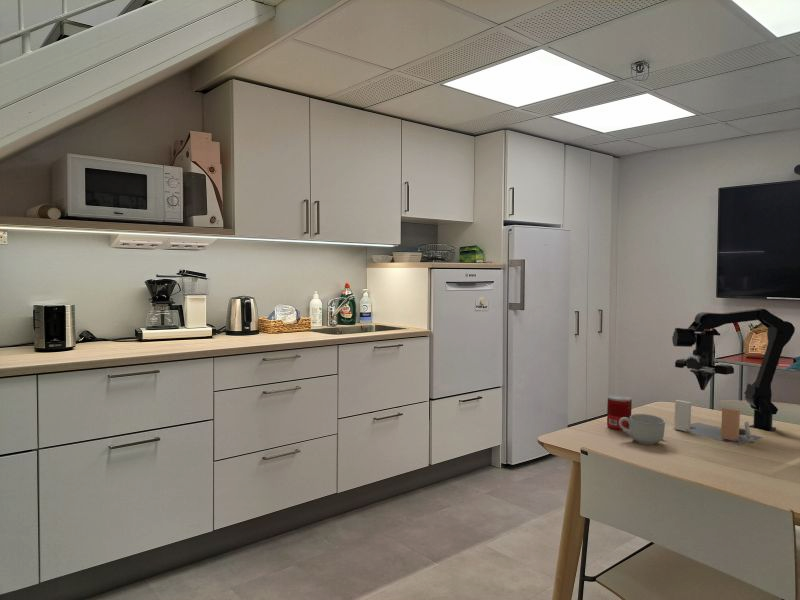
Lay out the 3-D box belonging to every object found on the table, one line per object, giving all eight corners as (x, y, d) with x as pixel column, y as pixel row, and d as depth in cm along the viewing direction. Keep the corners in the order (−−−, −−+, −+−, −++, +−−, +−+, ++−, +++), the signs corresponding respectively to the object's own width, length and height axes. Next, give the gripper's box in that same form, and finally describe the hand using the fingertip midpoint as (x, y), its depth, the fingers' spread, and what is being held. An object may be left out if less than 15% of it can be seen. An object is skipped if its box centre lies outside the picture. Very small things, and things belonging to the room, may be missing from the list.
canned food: (632, 431, 197) (633, 400, 196) (608, 429, 199) (609, 398, 198) (628, 425, 204) (629, 395, 204) (605, 424, 206) (606, 394, 206)
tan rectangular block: (724, 436, 188) (725, 407, 187) (740, 439, 184) (741, 410, 183) (719, 437, 186) (720, 408, 186) (735, 441, 182) (736, 411, 181)
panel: (697, 425, 206) (697, 405, 206) (763, 440, 188) (764, 418, 187) (672, 431, 197) (673, 410, 197) (739, 448, 179) (740, 425, 179)
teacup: (664, 439, 187) (665, 416, 187) (664, 449, 178) (665, 423, 177) (619, 434, 193) (620, 411, 193) (617, 442, 183) (618, 418, 183)
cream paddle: (677, 426, 198) (678, 399, 198) (691, 430, 194) (692, 402, 194) (672, 428, 196) (673, 400, 196) (686, 431, 192) (687, 403, 192)
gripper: (667, 345, 208) (665, 387, 209) (719, 352, 192) (717, 397, 193) (683, 343, 214) (682, 384, 215) (735, 349, 199) (733, 393, 199)
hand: (702, 390), depth 205 cm, fingers closed
